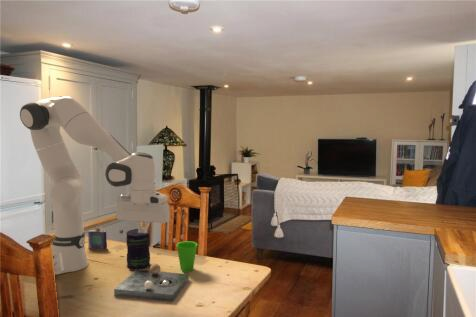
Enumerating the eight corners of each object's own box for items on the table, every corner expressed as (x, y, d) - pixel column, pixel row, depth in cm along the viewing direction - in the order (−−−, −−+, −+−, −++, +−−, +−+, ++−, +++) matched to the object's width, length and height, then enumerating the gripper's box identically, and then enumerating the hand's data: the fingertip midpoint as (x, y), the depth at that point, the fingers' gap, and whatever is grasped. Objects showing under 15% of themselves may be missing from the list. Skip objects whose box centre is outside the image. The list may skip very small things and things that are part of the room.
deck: (114, 295, 131) (114, 288, 131) (136, 275, 149) (136, 269, 148) (172, 301, 127) (172, 294, 127) (188, 280, 145) (188, 274, 145)
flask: (87, 249, 179) (87, 227, 178) (90, 247, 182) (90, 226, 181) (105, 250, 178) (105, 228, 177) (108, 248, 181) (107, 226, 180)
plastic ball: (142, 290, 130) (142, 282, 130) (146, 286, 133) (146, 278, 133) (150, 291, 129) (150, 283, 129) (154, 287, 132) (154, 279, 132)
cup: (193, 274, 150) (193, 248, 149) (172, 272, 152) (172, 247, 151) (200, 266, 159) (200, 242, 158) (180, 264, 161) (180, 240, 160)
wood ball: (148, 275, 143) (148, 265, 142) (152, 271, 147) (152, 261, 146) (157, 276, 142) (157, 266, 142) (161, 272, 146) (161, 262, 146)
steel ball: (158, 283, 136) (166, 281, 135) (161, 280, 139) (169, 277, 138) (161, 291, 136) (169, 289, 135) (165, 287, 139) (172, 285, 138)
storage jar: (137, 259, 166) (137, 227, 164) (154, 263, 162) (154, 230, 160) (121, 267, 157) (121, 233, 155) (139, 271, 153) (139, 236, 151)
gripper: (112, 196, 135) (112, 232, 136) (165, 199, 131) (165, 237, 132) (121, 193, 141) (121, 228, 142) (171, 196, 137) (171, 232, 138)
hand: (142, 232), depth 137 cm, fingers closed
